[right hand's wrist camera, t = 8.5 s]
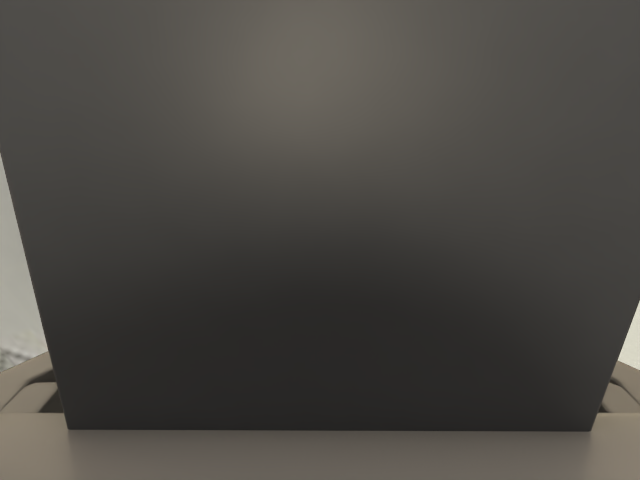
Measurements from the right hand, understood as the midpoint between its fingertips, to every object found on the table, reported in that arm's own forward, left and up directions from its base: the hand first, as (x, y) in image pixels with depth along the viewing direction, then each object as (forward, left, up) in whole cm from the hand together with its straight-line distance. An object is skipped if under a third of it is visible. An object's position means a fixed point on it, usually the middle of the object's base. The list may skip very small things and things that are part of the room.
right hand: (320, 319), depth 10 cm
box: (+3, +8, -6) cm, 11 cm away
